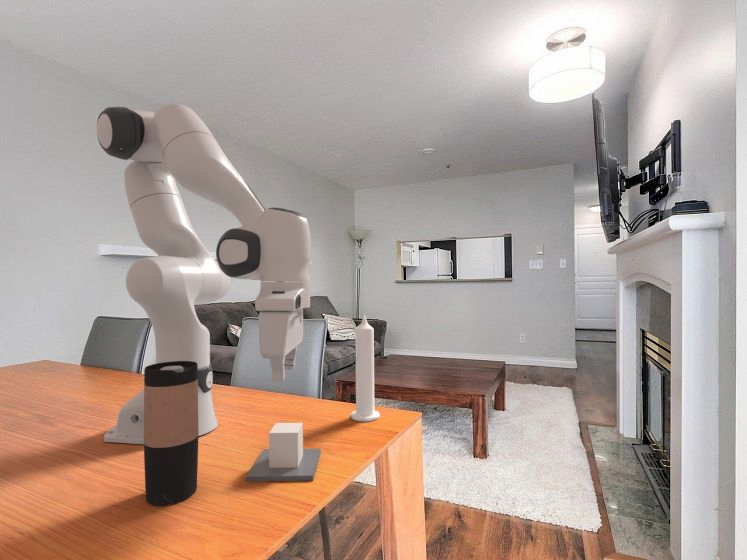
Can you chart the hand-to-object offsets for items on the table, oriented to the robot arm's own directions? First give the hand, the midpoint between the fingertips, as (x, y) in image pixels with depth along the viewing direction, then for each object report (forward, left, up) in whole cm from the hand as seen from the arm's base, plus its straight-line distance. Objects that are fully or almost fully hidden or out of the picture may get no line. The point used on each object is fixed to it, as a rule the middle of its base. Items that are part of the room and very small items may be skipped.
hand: (284, 374), depth 72 cm
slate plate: (0, 0, -16) cm, 16 cm away
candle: (+14, +26, -17) cm, 34 cm away
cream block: (0, 0, -16) cm, 15 cm away
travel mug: (-16, -9, -17) cm, 25 cm away
